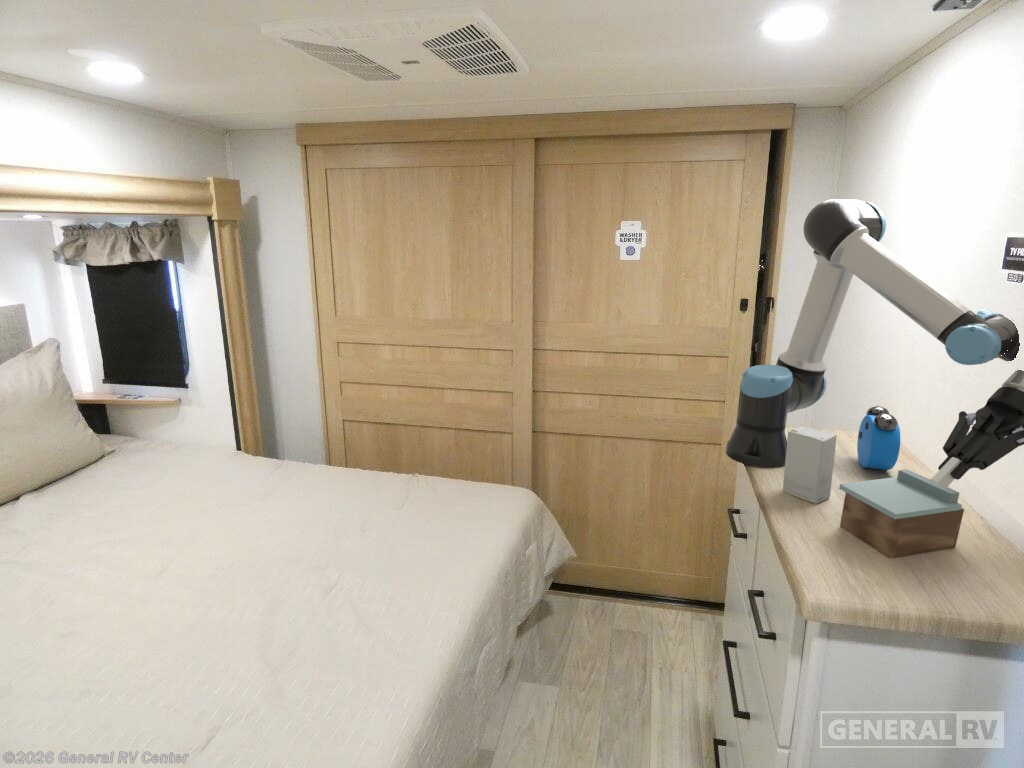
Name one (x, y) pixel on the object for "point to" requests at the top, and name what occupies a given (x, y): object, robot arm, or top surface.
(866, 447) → the alarm clock
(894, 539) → the box
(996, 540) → the top surface
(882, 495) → the lid
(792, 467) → the skincare box
